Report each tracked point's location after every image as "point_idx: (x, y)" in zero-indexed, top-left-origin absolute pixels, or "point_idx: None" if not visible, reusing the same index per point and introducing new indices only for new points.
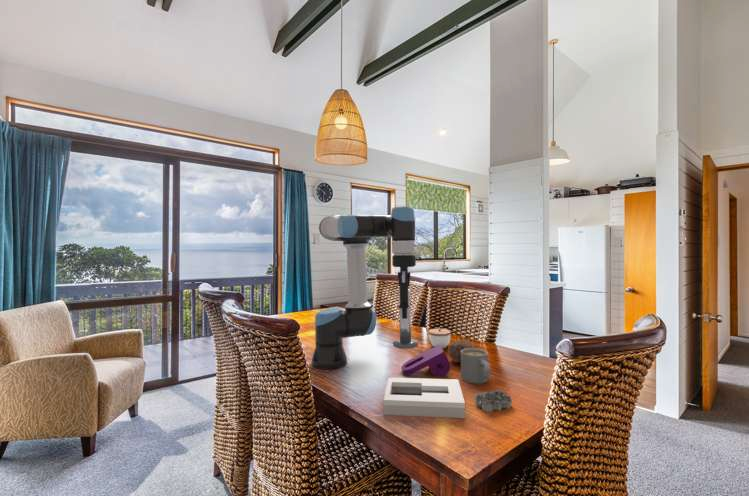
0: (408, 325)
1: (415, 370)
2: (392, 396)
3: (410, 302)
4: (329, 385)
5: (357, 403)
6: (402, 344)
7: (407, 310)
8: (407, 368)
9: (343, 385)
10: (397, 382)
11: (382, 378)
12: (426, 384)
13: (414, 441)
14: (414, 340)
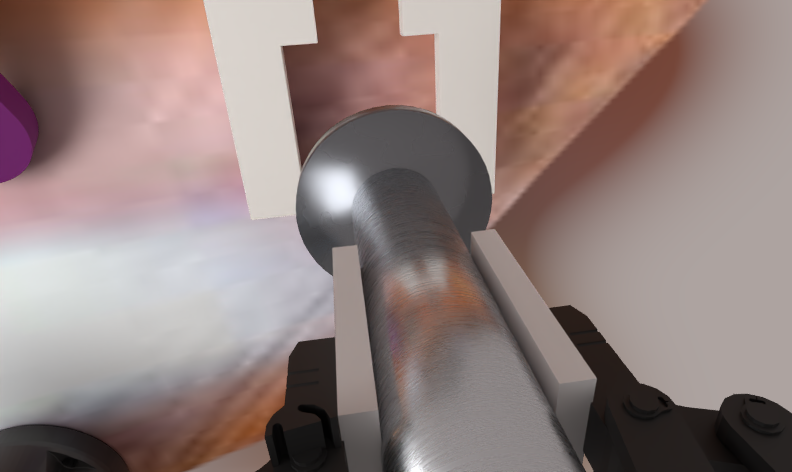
0: (505, 248)
1: (17, 100)
2: None
3: (271, 441)
4: (274, 401)
5: None
6: (464, 221)
7: (576, 366)
8: (11, 149)
9: (260, 362)
10: (300, 169)
11: (132, 247)
12: (296, 16)
13: (651, 40)
14: (337, 146)
